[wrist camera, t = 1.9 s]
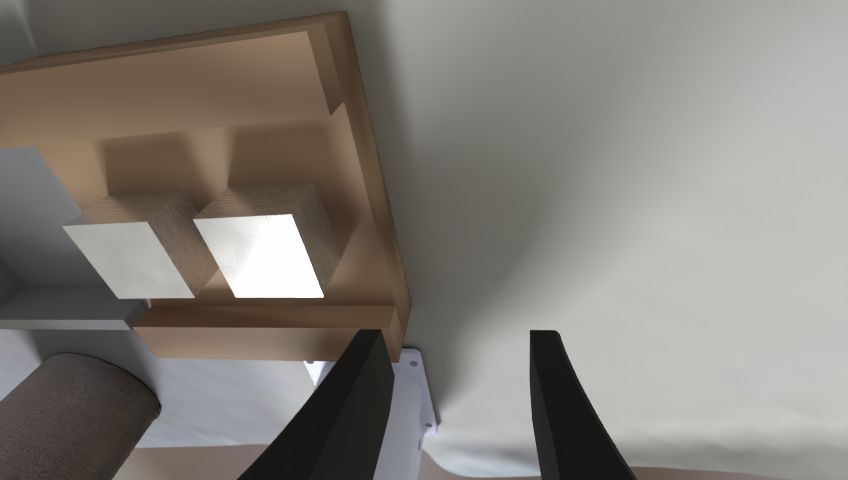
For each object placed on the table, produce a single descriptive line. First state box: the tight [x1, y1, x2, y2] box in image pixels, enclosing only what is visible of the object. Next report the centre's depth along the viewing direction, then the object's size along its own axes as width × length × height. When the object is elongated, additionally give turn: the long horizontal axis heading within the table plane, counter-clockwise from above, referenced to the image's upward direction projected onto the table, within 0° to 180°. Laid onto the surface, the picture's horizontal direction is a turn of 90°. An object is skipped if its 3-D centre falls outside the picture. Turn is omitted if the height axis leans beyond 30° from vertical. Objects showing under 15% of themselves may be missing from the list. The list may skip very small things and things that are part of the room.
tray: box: [0, 146, 151, 330], centre depth 22 cm, size 12×12×4 cm
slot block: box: [0, 11, 411, 363], centre depth 19 cm, size 15×14×4 cm
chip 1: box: [62, 190, 219, 299], centre depth 18 cm, size 4×4×2 cm
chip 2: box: [193, 181, 341, 298], centre depth 17 cm, size 4×4×2 cm
